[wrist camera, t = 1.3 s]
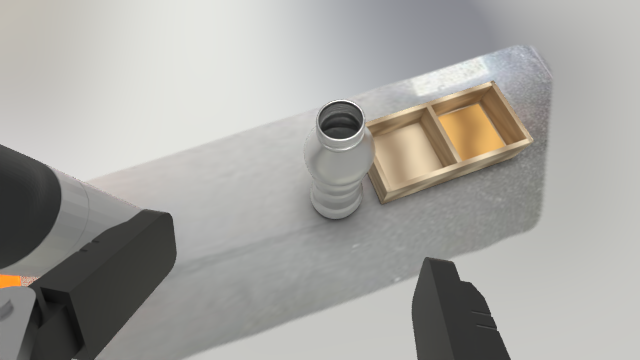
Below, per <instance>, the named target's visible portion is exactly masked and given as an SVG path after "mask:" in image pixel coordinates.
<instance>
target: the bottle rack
mask: <svg viewBox="0 0 640 360" xmlns="http://www.w3.org/2000/svg"><path fill="white" fill-rule="evenodd" d="M365 126H366V127H367V128H368V129H369V131H370V132H371V134H372V136H373V139H374V142H375V147H376V154H375V159H374V162H373V164H372V166H371V168H370V169H369V171H368V172H367V173H368V175H369V177H370V180H371V182H372V184H373V187H374V189H375V191H376V193H377V196H378V198H379V200H380V202H381V204H384V203H387V202H390V201H393V200H396V199H398V198H401V197H404V196H407V195H410V194H412V193H415V192H418V191H421V190H424V189H426V188H429V187H432V186H435V185H438V184H440V183H443V182H446V181H449V180H452V179H455V178H457V177H460V176H463V175H466V174H469V173H471V172H474V171H477V170H480V169H483V168H485V167H488V166H491V165H494V164H497V163H500V162H502V161H505V160H508V159H511V158H513V157H514V156H515V155H517V154H518V153H519V152H521V151H522V150H523V149H525V148H526V147H527V146H528V145H530V144H531V143H532V142H534V140H533V139H532V137H531V136H530V134H529V133H528V131H527V130H526V128H525V127H524V125H523V124H522V122H521V121H520V119H519V118H518V116H517V115H516V113H515V112H514V110H513V109H512V107H511V106H510V104H509V103H508V101H507V100H506V98H505V97H504V95H503V94H502V92H501V91H500V89H499V88H498V86H497V85H496V83H495V82H494V80H493V81H490V82H487V83H484V84H481V85H478V86H475V87H472V88H469V89H466V90H463V91H460V92H457V93H454V94H451V95H448V96H445V97H442V98H439V99H436V100H433V101H430V102H427V103H424V104H421V105H418V106H414V107H411V108H408V109H405V110H402V111H399V112H396V113H393V114H390V115H387V116H384V117H381V118H378V119H375V120H372V121H369V122H366V123H365Z"/></svg>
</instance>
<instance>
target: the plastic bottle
mask: <svg viewBox="0 0 640 360" xmlns="http://www.w3.org/2000/svg"><path fill="white" fill-rule="evenodd" d="M375 154H376V147H375V142H374V139H373V136H372V134H371V132H370V131H369V129H368V128H367V127H366V126H365V116H364V113H363V111H362V109H361V108H360V107H359V106H358V105H357V104H356V103H354V102H352V101H349V100H334V101H331V102H329V103H327V104H326V105H324V106H323V107H322V108H321V110H320V111H319V113H318V115H317V120H316V127H315V128H314V129H313V130H312V131H311V133H310V134H309V136H308V138H307V140H306V143H305V146H304V159H305V162H306V165H307V168H308V170H309V172H310V173H311V175H312V177H313V182H312V185H311V190H310V198H311V202H312V204H313V206H314V208H315V209H316V210H317V211H318V212H319V213H320V214H321V215H323V216H325V217H327V218H331V219H340V218H344V217H346V216H348V215H350V214H351V213H352V212H354V211H355V210H356V209H357V208H358V206H359V205H360V203H361V200H362V197H363V187H362V180H363V178H364V176H365V175H366V174H367V172H368V171H369V169H370V168H371V166H372V164H373V162H374V159H375Z"/></svg>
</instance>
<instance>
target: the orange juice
mask: <svg viewBox="0 0 640 360" xmlns="http://www.w3.org/2000/svg"><path fill="white" fill-rule="evenodd" d="M9 286H21V284H20V276H7V275H0V288H3V287H9Z"/></svg>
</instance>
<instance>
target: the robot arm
mask: <svg viewBox="0 0 640 360" xmlns="http://www.w3.org/2000/svg"><path fill="white" fill-rule="evenodd" d="M176 254H177V252H176V243H175V235H174V226H173V219H172V216H171V215H170V214H169V213H166V212H160V211H154V210H148V209H144V210H142V209H140V208H138V207H136V206H134V205H132V204H129V203H127V202H125V201H123V200H121V199H119V198H117V197H114V196H112V195H110V194H108V193H106V192H104V191H102V190H99V189H97V188H95V187H93V186H91V185H89V184H87V183H84V182H82V181H80V180H78V179H76V178H74V177H71V176H69V175H67V174H65V173H63V172H60V171H58V170H56V169H54V168H52V167H50V166H48V165H46V164H43V163H41V162H39V161H37V160H35V159H33V158H30V157H28V156H26V155H24V154H21V153H19V152H17V151H14V150H12V149H10V148H7V147H5V146H3V145H0V275H7V276H24V277H38V278H39V279H37V280H36V281H34V282H33V283H32V284H30V285H29V286H27V287H26V286H9V287H3V288H0V360H71V359H72V358H73V359H77V360H94V359H95V358H96V357H97V355H98V354H99V353H100V352H101V351H102V350H103V348H104V347H105V346H106V345H107V344H108V343H109V342H110V340H111V339H112V338H113V337H114V336H115V335H116V333H117V332H118V331H119V330H120V329H121V328H122V327H123V325H124V324H125V323H126V322H127V321H128V320H129V318H130V317H131V316H132V315H133V314H134V313H135V312H136V310H137V309H138V308H139V307H140V306H141V305H142V303H143V302H144V301H145V300H146V299H147V298H148V297H149V295H150V294H151V293H152V292H153V291H154V290H155V288H156V287H157V286H158V285H159V284H160V283H161V282H162V280H163V279H164V278H165V277H166V276H167V275H168V273H169V272H170V271H171V270H172V268H173V266H174V263H175V260H176ZM412 321H413V329H414V336H415V342H416V350H417V357H418V360H511V359H510V357H509V355H508V352H507V350H506V347H505V345H504V343H503V340H502V338H501V336H500V333H499V331H497V326H496V324H495V322H494V319H493V317H491V313H490V310H489V308H488V305H487V303H486V301H485V298H484V297H483V296H482V295H481V293H480V292H479V291H478V290H477V289H476V288H475V287H474V286H473V285H472V283H470V282H464V281H460V278H459V275H458V272H457V270H456V267H455V264H454V263H453V262H452V261H447V260H441V259H435V258H429V257H426V258H425V259H424V261H423V265H422V268H421V272H420V275H419V278H418V282H417V285H416V289H415V292H414V296H413V301H412Z"/></svg>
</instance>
